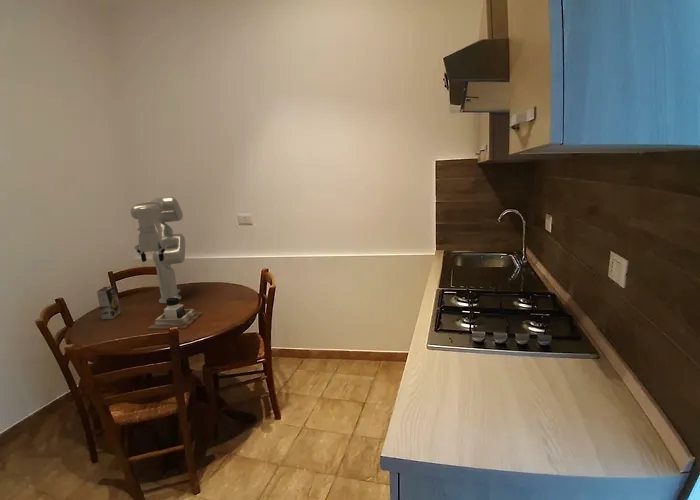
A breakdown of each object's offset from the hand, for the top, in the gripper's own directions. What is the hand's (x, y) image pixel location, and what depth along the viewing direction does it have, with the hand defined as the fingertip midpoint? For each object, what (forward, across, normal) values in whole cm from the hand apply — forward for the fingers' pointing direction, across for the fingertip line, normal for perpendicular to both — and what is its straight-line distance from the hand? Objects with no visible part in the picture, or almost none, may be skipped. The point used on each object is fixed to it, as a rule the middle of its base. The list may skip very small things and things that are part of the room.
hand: (153, 261), depth 234 cm
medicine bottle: (+29, +14, -14) cm, 35 cm away
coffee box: (+30, -28, -2) cm, 41 cm away
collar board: (+30, +15, -14) cm, 36 cm away
